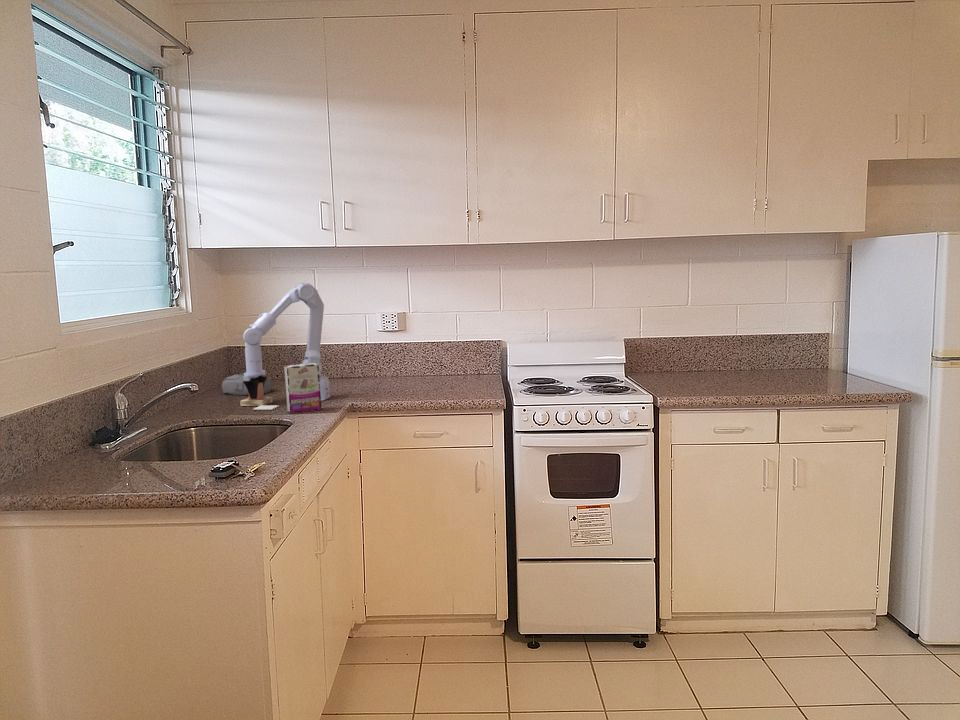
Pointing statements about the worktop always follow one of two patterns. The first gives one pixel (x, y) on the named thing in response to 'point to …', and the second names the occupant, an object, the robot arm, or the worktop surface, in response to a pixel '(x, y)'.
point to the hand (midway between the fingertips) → (256, 397)
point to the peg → (259, 392)
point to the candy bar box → (302, 387)
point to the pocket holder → (256, 402)
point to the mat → (266, 407)
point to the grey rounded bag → (241, 385)
